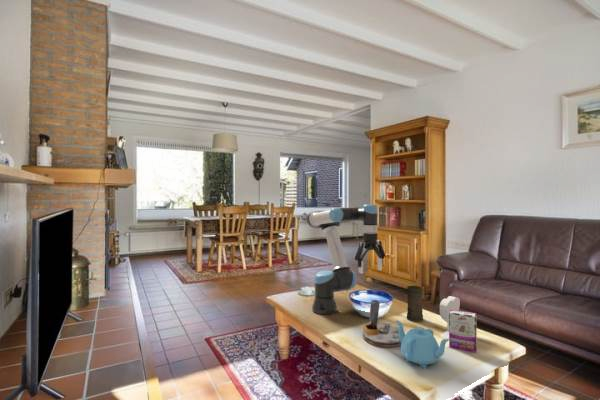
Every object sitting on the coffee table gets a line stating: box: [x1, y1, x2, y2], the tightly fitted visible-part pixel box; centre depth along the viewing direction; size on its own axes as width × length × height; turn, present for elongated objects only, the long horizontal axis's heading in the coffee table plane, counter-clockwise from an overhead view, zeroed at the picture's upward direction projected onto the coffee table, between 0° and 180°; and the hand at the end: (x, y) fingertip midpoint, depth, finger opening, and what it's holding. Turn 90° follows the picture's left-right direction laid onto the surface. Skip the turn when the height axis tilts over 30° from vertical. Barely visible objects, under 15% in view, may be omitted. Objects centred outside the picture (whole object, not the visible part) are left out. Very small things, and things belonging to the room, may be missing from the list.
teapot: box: [395, 319, 450, 369], centre depth 139 cm, size 16×20×14 cm
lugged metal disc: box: [362, 321, 400, 345], centre depth 161 cm, size 19×19×4 cm
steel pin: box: [368, 299, 381, 329], centre depth 159 cm, size 4×4×16 cm
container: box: [406, 285, 424, 323], centre depth 185 cm, size 9×9×18 cm
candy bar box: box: [448, 310, 478, 353], centre depth 150 cm, size 11×5×16 cm, turn 59°
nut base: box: [362, 332, 401, 349], centre depth 161 cm, size 20×20×1 cm
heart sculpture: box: [439, 295, 461, 339], centre depth 166 cm, size 16×5×18 cm, turn 132°
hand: (370, 271), depth 179 cm, fingers open, 13 cm apart
